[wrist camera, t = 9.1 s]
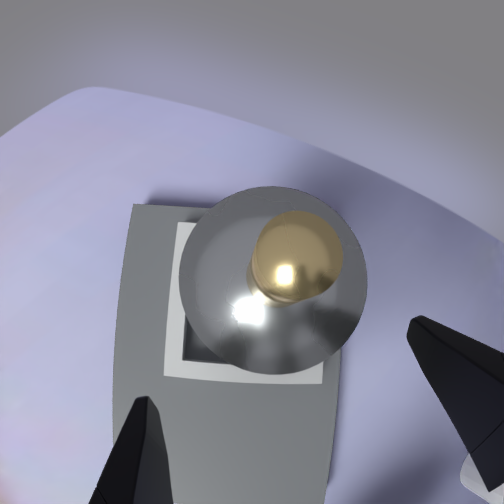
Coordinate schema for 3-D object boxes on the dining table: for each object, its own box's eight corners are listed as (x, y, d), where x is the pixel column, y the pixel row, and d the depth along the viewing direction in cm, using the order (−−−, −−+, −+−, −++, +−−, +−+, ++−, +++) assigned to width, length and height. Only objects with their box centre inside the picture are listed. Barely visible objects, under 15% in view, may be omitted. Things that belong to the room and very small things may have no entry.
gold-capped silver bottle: (303, 319, 19) (453, 292, 6) (233, 363, 18) (255, 446, 5) (260, 250, 19) (325, 106, 6) (189, 292, 18) (114, 207, 5)
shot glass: (444, 495, 17) (490, 520, 10) (472, 428, 19) (526, 441, 12) (485, 488, 17) (528, 505, 10) (509, 428, 19) (557, 437, 12)
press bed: (317, 495, 17) (328, 512, 14) (122, 483, 16) (111, 499, 13) (334, 227, 22) (347, 214, 19) (138, 212, 21) (128, 196, 18)
